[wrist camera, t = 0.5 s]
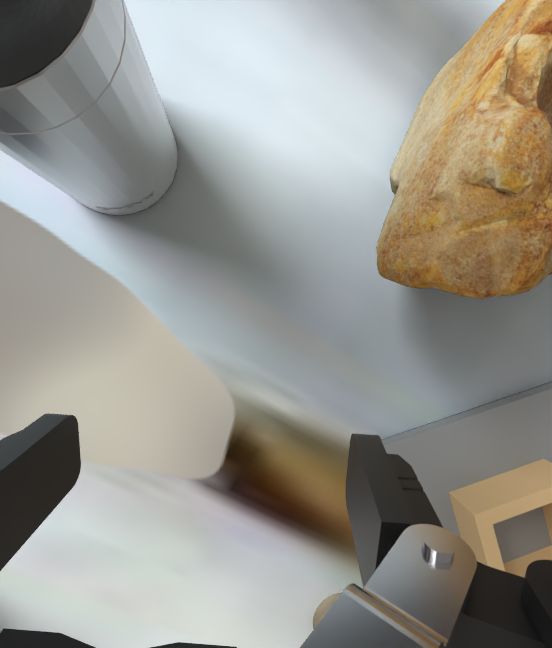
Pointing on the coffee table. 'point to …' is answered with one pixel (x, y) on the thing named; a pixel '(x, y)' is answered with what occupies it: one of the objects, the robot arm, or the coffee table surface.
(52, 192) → the coffee table surface
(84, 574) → the coffee table surface
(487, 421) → the collar board
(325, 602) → the wooden peg
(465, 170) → the rough brown rock
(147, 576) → the coffee table surface
